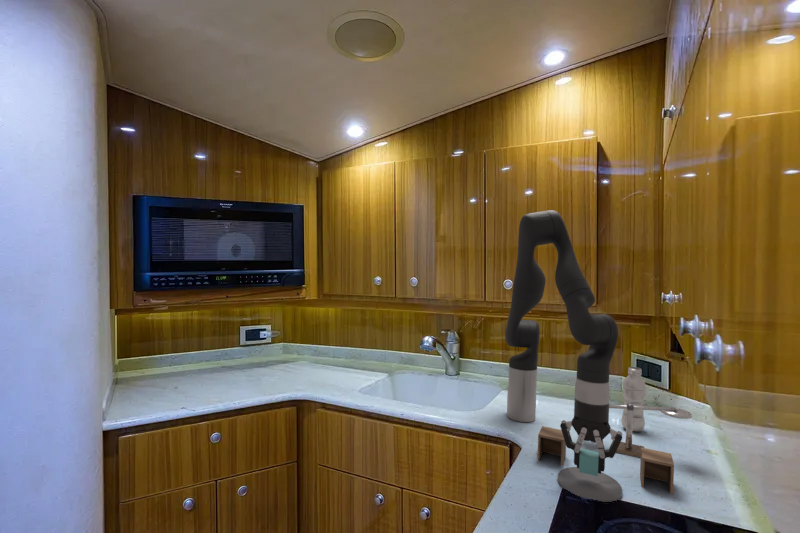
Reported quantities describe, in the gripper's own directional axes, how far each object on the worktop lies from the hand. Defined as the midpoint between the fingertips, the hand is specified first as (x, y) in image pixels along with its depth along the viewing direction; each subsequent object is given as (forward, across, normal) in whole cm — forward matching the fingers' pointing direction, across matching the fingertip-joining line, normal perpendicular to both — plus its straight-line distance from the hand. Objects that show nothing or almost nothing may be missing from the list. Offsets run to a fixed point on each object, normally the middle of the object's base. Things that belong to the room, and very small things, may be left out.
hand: (589, 469), depth 99 cm
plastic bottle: (+4, +10, +44) cm, 45 cm away
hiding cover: (+4, -10, +10) cm, 15 cm away
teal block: (0, 0, 0) cm, 0 cm away
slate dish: (+4, 0, 0) cm, 4 cm away
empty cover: (+4, +14, +10) cm, 18 cm away
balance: (+4, +9, +26) cm, 28 cm away
